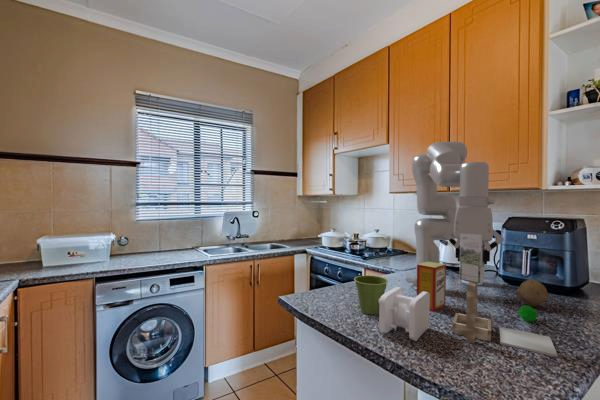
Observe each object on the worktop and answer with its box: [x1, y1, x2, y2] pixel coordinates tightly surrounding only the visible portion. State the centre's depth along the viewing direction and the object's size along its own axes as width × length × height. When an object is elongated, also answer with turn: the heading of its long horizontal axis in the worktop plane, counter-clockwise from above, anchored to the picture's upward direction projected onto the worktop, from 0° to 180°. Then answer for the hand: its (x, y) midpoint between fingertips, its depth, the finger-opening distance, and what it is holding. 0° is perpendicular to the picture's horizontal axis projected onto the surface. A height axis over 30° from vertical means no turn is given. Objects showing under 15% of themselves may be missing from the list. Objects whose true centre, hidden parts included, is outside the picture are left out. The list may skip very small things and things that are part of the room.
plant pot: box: [353, 274, 389, 315], centre depth 105 cm, size 12×12×11 cm
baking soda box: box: [416, 262, 447, 313], centre depth 110 cm, size 10×6×16 cm
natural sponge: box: [516, 279, 549, 307], centre depth 112 cm, size 9×9×10 cm
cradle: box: [452, 282, 492, 345], centre depth 89 cm, size 10×18×16 cm, turn 147°
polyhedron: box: [518, 305, 538, 323], centre depth 98 cm, size 5×5×5 cm
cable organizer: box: [378, 286, 430, 342], centre depth 89 cm, size 15×11×12 cm
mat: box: [499, 326, 558, 358], centre depth 83 cm, size 12×12×1 cm
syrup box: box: [459, 233, 486, 283], centre depth 90 cm, size 6×6×14 cm
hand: (472, 261), depth 90 cm, fingers closed on syrup box, 6 cm apart
